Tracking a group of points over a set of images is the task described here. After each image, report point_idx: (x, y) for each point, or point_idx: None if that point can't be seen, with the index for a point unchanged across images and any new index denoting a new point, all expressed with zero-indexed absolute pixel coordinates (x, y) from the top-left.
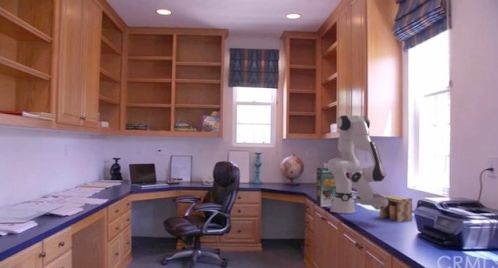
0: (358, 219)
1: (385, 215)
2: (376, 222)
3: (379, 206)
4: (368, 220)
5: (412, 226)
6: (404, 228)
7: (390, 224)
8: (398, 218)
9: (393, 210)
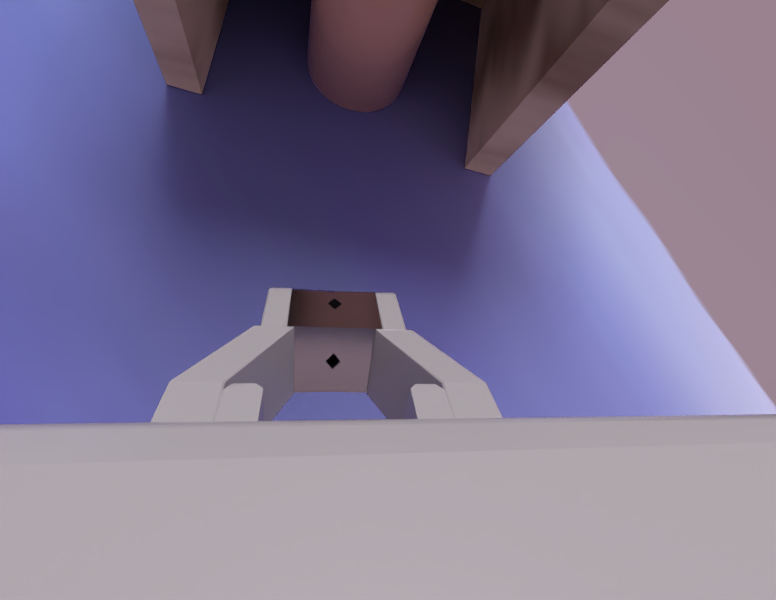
0: None
1: (216, 6)
2: None
3: (401, 320)
4: None
5: (686, 284)
6: None
7: (533, 399)
8: (504, 153)
9: (421, 2)
